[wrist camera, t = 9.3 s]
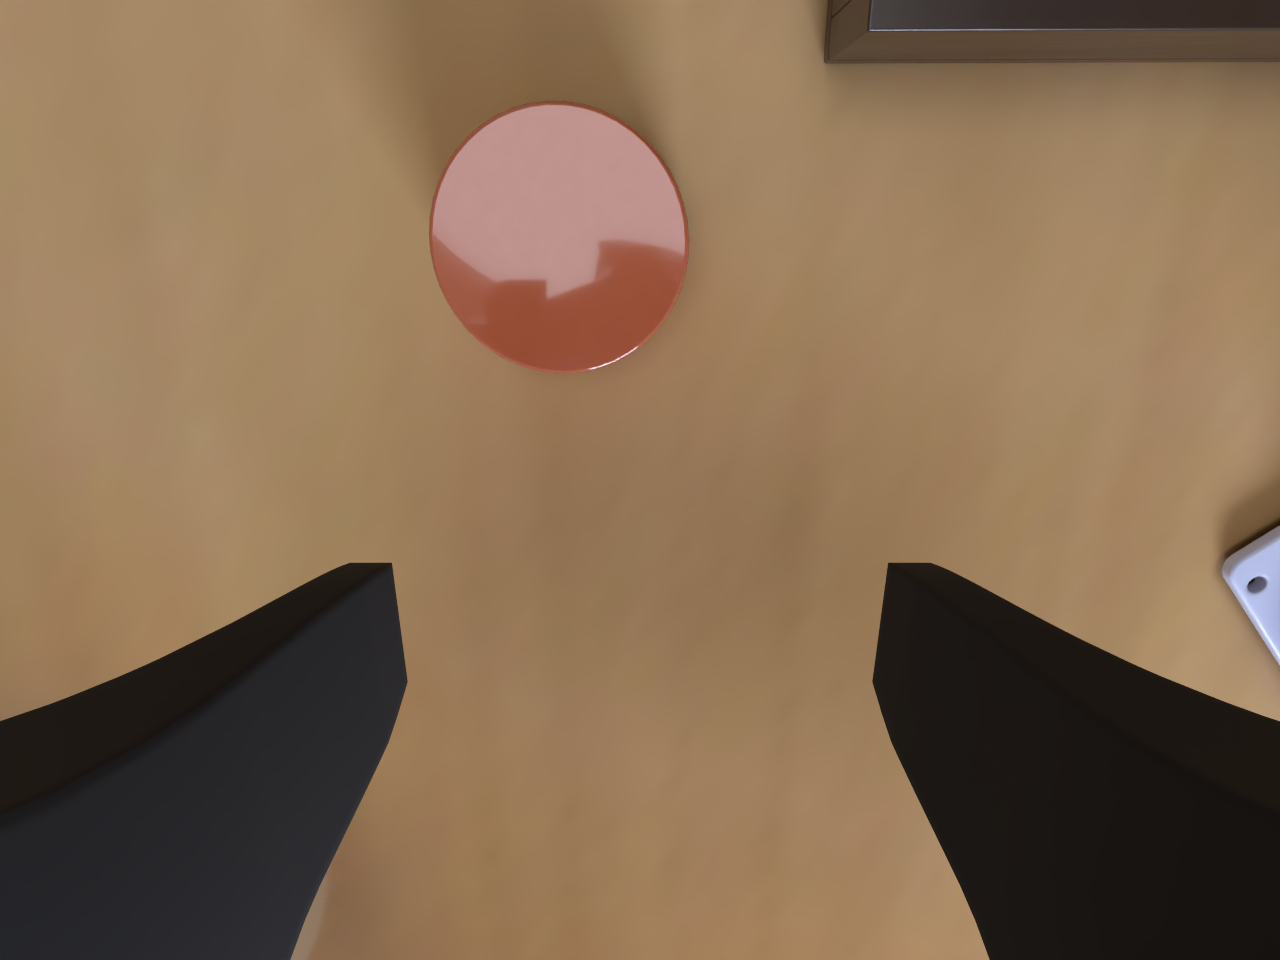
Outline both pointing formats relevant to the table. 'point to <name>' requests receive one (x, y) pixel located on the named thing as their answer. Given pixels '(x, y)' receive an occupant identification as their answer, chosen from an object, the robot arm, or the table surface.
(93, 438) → the table surface
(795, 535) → the table surface
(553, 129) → the terracotta coaster
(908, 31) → the dark brown tray
